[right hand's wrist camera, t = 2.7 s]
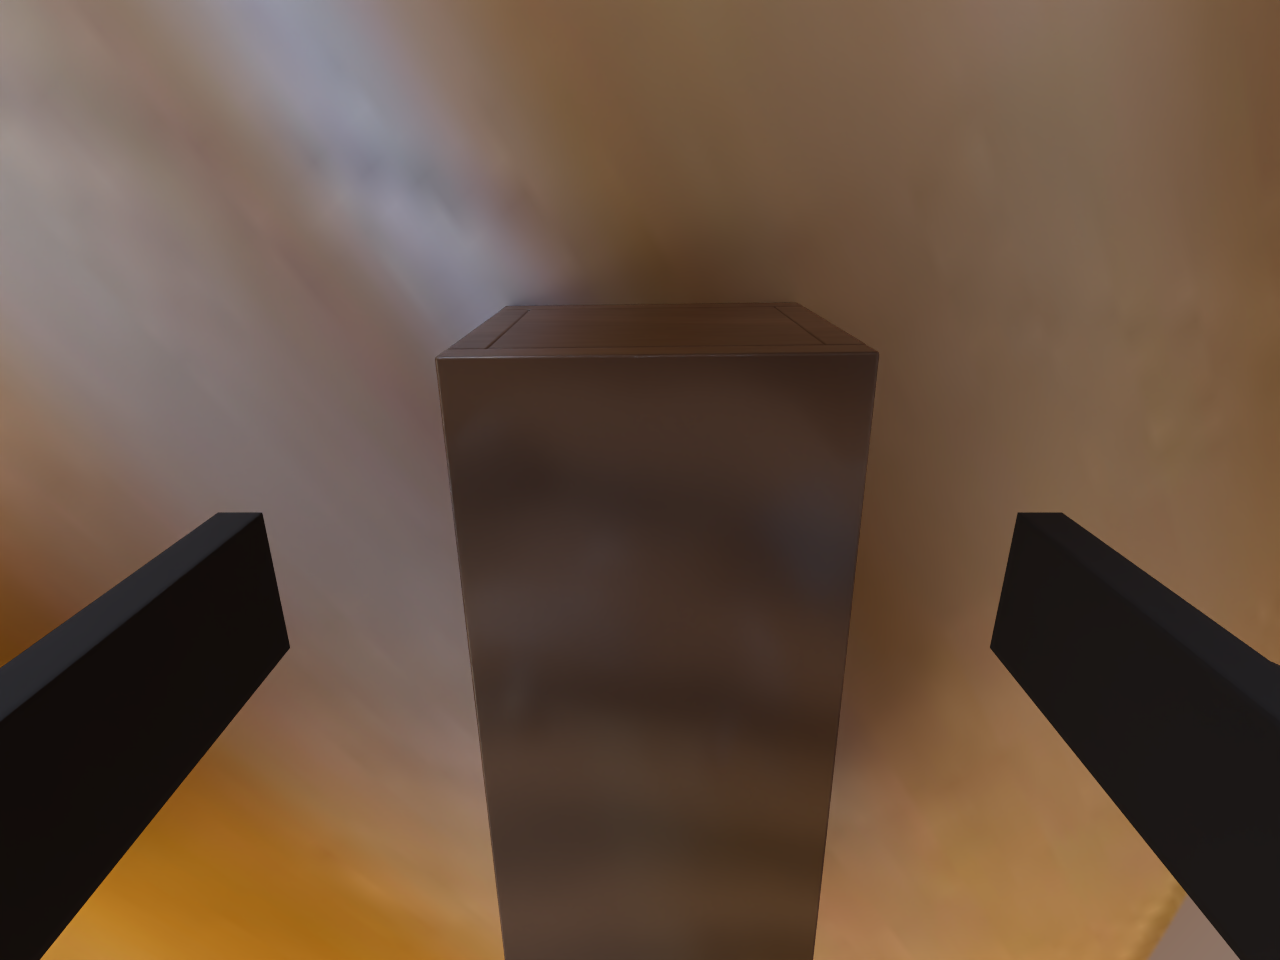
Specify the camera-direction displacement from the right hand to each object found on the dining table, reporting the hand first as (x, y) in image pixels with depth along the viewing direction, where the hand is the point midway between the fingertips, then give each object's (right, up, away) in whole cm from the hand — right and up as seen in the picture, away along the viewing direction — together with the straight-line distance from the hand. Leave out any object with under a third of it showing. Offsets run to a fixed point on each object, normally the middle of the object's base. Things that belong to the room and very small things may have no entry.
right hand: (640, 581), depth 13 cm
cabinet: (0, -1, +16) cm, 16 cm away
